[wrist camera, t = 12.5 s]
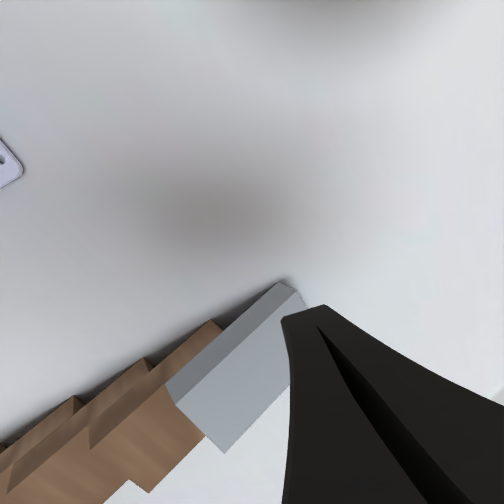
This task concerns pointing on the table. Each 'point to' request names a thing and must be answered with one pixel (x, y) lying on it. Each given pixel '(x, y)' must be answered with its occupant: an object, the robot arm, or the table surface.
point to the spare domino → (238, 370)
